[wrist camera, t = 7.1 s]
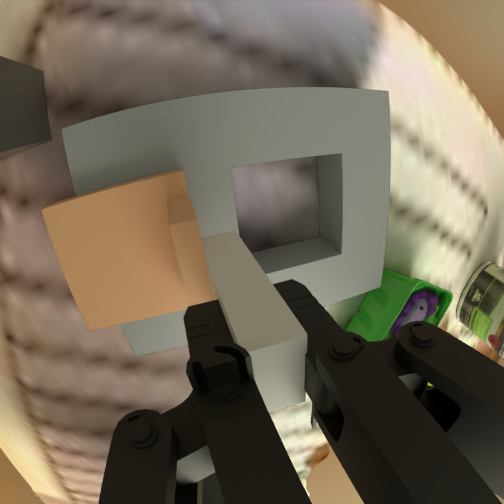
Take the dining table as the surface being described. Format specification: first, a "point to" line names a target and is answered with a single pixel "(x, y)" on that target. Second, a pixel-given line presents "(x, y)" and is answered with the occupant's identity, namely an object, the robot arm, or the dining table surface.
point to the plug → (21, 108)
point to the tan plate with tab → (130, 249)
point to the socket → (252, 152)
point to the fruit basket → (398, 307)
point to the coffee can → (485, 305)
